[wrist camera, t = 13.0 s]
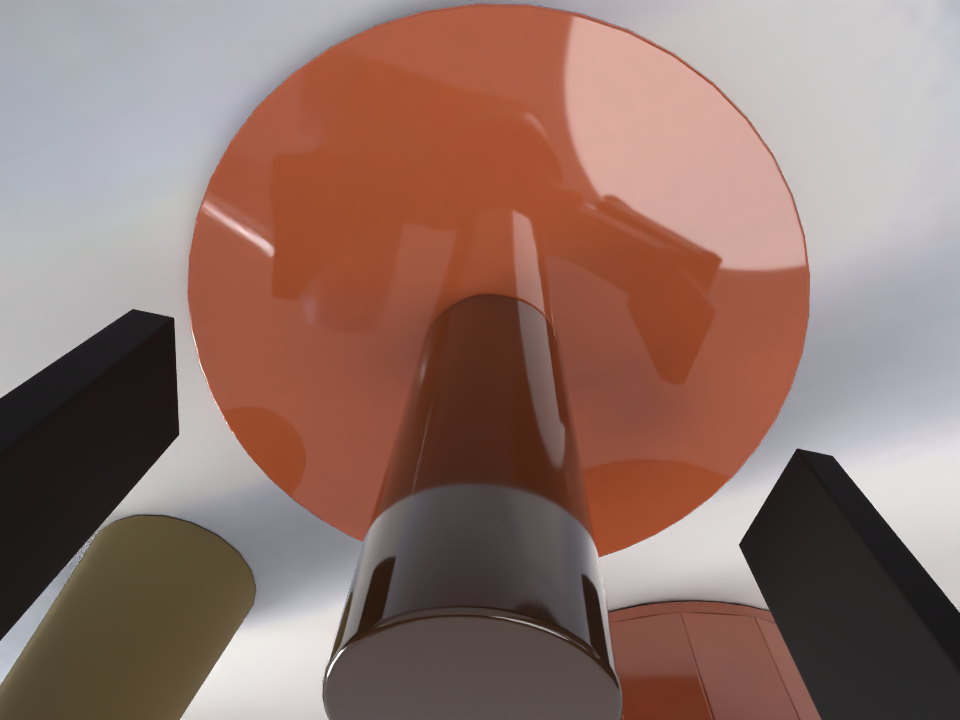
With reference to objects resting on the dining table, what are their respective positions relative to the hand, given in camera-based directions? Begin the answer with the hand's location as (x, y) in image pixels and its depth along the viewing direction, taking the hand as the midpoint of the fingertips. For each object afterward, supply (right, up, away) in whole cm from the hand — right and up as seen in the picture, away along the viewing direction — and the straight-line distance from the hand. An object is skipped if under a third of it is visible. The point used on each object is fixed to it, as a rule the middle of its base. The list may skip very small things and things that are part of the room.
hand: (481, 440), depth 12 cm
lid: (0, +2, +4) cm, 4 cm away
